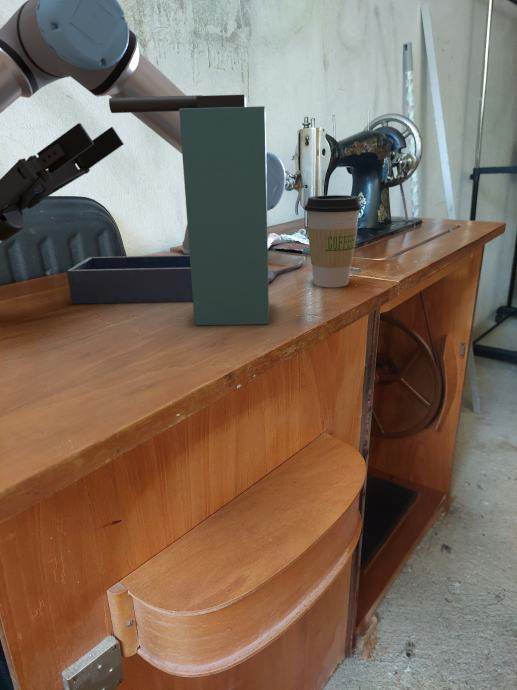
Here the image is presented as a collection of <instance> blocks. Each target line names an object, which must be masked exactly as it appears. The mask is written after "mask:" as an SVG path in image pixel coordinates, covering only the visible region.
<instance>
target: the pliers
mask: <svg viewBox="0 0 517 690" xmlns="http://www.w3.org/2000/svg"><path fill="white" fill-rule="evenodd" d="M302 264H303V263H302V260H301V259H299V260H298V262H297V263H295V264H293V265H289V266H283V267H280V268H277V269H272V270H268V284H269V283H270V282H272V281H273V280H274V279H275V277H276V276H277V275H279V274H282V273H285V272H289V271H292V270H297V269H298V268H299V267H301V266H302Z"/></svg>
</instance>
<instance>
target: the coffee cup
mask: <svg viewBox="0 0 517 690" xmlns="http://www.w3.org/2000/svg"><path fill="white" fill-rule="evenodd" d="M361 210H363V207H362V204H361V203H360V199H359V197H358V196H357V195H347V194H346V195H345V194H329V195H326V194H325V195H313V196H309V197H308V198H307V201H306V204H305V205H304V211H305V212H306V217H307V226H306V227H307V236H308V246H309V255H310V257H309V258H310V264H311V267H312V269H311V270H312V277H313V278H312V279H313V284H314V285H315V286H317V287H322V288H341V287H346V286H347V285H349V281H350V274H351V270H352V269H351V267H352V264H353V260H354V253H355V248H356V240H357V235H358V228H359V225H358V222H359V216H360V211H361Z"/></svg>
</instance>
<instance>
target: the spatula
mask: <svg viewBox="0 0 517 690" xmlns="http://www.w3.org/2000/svg"><path fill="white" fill-rule="evenodd" d="M278 240H280V241H278ZM274 241H275V242H274ZM281 241H282V238H281V236H280V235H279V234H277V233H274V232H272V233H269V234H268V249H269V248H270V247H271V246H277V245H278V244H280V243H281ZM272 242H273V243H272ZM271 243H272V244H271ZM276 244H277V245H276Z"/></svg>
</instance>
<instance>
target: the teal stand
mask: <svg viewBox="0 0 517 690" xmlns="http://www.w3.org/2000/svg"><path fill="white" fill-rule="evenodd" d="M179 116H180V130H181V143H182V168H183V169H182V170H183V181H184V193H185V194H184V196H185V197H184V198H185V210H186V226H187V225H188V239H189V252H190V266H191V280H192V293H193V301H192V305H193V319H194V326H243V325H244V326H245V325H246V326H247V325H250V326H251V325H270V293H269V292H270V291H269V283H268V271H269V248H268V235H269V234H268V211H267V180H266V152H267V135H266V132H267V131H266V106H265V105H263V106H262V105H261V106H260V105H259V106H257V105H256V106H246V107H222V108H188V109H179Z"/></svg>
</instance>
